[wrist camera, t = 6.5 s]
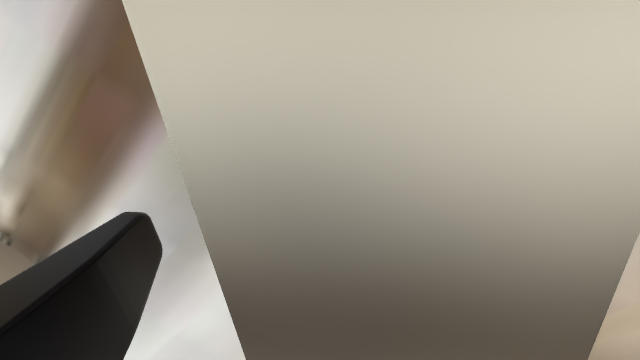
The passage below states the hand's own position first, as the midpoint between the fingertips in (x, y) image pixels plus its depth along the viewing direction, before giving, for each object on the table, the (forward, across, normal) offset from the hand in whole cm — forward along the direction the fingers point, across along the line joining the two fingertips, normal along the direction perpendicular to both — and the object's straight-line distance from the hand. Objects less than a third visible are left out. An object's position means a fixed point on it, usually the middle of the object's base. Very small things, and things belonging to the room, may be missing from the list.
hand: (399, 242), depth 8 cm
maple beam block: (+4, 0, 0) cm, 4 cm away
